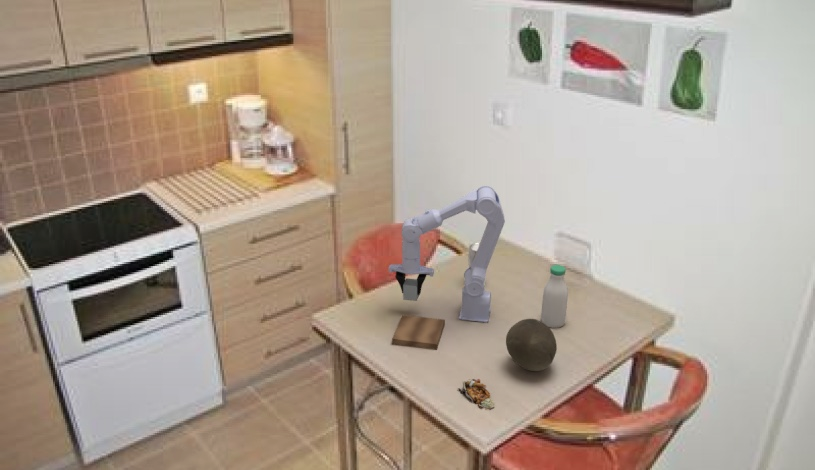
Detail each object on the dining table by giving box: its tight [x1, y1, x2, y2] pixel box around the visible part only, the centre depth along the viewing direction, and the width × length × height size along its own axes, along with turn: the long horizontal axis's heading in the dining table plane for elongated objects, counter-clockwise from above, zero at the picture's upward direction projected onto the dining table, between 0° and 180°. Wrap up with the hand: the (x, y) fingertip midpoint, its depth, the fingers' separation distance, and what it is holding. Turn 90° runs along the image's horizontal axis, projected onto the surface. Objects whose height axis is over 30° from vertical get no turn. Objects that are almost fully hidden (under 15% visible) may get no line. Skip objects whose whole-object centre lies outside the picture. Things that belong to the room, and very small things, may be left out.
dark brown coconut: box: [505, 318, 558, 372], centre depth 201 cm, size 14×14×15 cm
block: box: [402, 277, 420, 302], centre depth 228 cm, size 4×4×6 cm
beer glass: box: [467, 242, 487, 288], centre depth 245 cm, size 7×7×15 cm
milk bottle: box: [540, 264, 569, 329], centre depth 222 cm, size 8×8×20 cm
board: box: [391, 314, 446, 350], centre depth 220 cm, size 14×14×2 cm
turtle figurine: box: [456, 378, 496, 411], centre depth 192 cm, size 7×12×4 cm, turn 36°
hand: (411, 292), depth 228 cm, fingers closed on block, 4 cm apart
